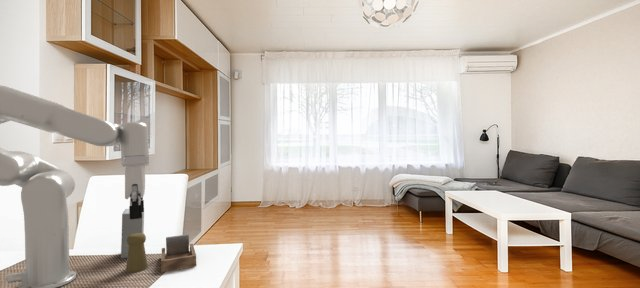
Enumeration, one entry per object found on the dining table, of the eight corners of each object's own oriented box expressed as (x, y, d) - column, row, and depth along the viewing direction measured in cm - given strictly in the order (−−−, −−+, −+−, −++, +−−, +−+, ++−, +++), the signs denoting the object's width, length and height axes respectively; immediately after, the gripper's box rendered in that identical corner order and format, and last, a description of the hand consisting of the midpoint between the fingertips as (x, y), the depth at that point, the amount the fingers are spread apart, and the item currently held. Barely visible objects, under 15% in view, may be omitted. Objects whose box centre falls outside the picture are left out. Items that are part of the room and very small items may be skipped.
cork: (138, 273, 97) (137, 237, 97) (121, 271, 98) (120, 236, 98) (152, 265, 103) (151, 231, 103) (136, 264, 104) (135, 230, 104)
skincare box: (123, 252, 117) (122, 208, 117) (145, 249, 120) (144, 206, 120) (120, 259, 109) (119, 213, 109) (143, 256, 112) (142, 211, 112)
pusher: (166, 255, 109) (166, 238, 109) (166, 254, 110) (166, 237, 110) (189, 252, 112) (188, 235, 112) (188, 251, 113) (188, 234, 113)
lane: (161, 272, 97) (161, 261, 97) (161, 257, 110) (161, 248, 110) (196, 266, 102) (196, 255, 102) (192, 252, 114) (192, 243, 114)
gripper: (124, 161, 107) (126, 212, 107) (117, 163, 91) (119, 223, 91) (150, 159, 110) (151, 209, 110) (147, 162, 94) (149, 219, 94)
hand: (137, 215), depth 101 cm, fingers open, 9 cm apart
